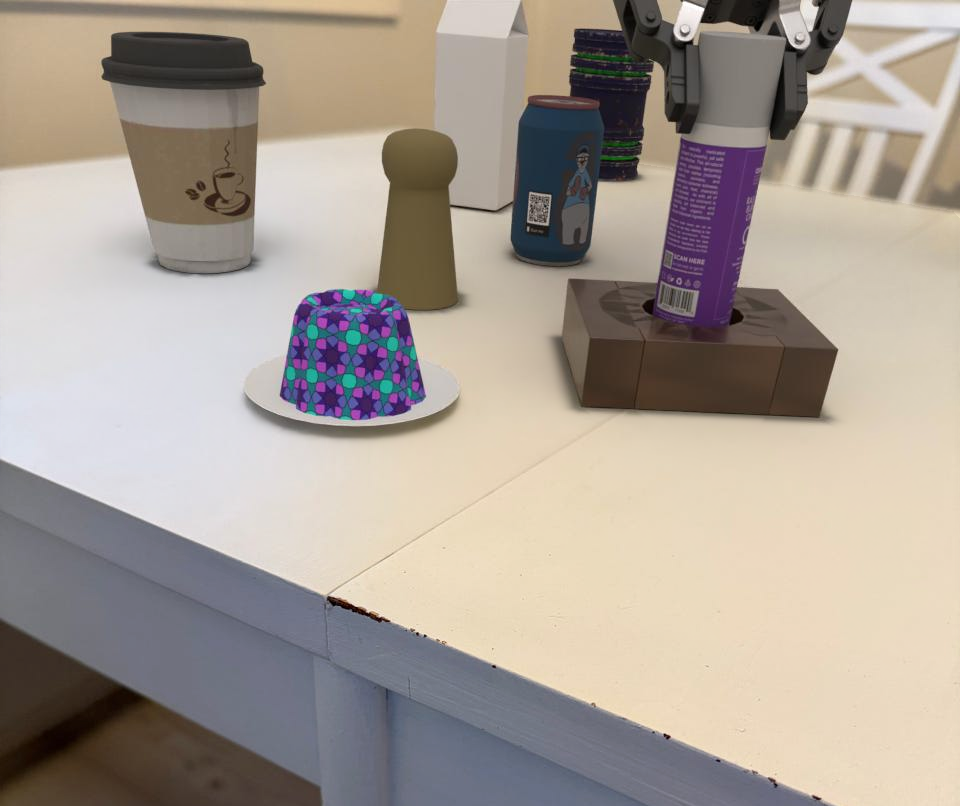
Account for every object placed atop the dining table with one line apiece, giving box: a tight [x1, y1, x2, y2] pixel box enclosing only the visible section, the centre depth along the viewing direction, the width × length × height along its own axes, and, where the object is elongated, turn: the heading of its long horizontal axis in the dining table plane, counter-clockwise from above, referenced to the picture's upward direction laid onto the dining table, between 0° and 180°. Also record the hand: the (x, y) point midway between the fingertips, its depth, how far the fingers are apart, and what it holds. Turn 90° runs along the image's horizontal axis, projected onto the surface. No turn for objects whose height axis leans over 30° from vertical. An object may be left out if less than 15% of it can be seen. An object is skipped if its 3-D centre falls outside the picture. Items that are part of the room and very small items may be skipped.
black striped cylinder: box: [568, 27, 655, 182], centre depth 113 cm, size 10×10×15 cm
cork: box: [376, 127, 459, 311], centre depth 66 cm, size 6×6×11 cm
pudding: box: [243, 288, 461, 427], centre depth 52 cm, size 12×12×5 cm
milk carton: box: [433, 0, 530, 211], centre depth 93 cm, size 7×7×19 cm
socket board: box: [561, 278, 839, 418], centre depth 58 cm, size 14×12×4 cm
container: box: [652, 30, 786, 327], centre depth 53 cm, size 5×5×15 cm
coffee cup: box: [100, 31, 267, 274], centre depth 70 cm, size 11×11×15 cm
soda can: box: [509, 94, 604, 267], centre depth 78 cm, size 7×7×12 cm
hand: (736, 125), depth 49 cm, fingers closed on container, 4 cm apart
